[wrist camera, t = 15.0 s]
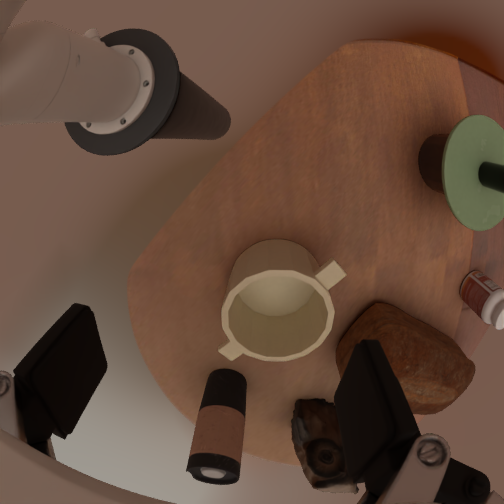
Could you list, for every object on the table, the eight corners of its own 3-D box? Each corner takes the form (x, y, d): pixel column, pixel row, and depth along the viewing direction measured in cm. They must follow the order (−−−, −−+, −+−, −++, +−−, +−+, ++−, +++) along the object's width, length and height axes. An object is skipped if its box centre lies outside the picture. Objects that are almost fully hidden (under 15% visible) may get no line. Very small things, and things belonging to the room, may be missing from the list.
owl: (293, 395, 49) (299, 487, 30) (356, 391, 48) (378, 476, 29) (288, 428, 53) (291, 505, 35) (343, 424, 53) (357, 498, 34)
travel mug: (255, 377, 47) (250, 476, 28) (236, 398, 50) (225, 488, 31) (217, 361, 46) (196, 461, 27) (200, 384, 48) (178, 474, 30)
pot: (200, 290, 41) (184, 329, 32) (294, 205, 35) (303, 227, 27) (260, 340, 44) (258, 384, 35) (352, 270, 38) (373, 306, 30)
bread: (419, 385, 48) (438, 426, 36) (320, 350, 44) (332, 407, 33) (462, 338, 43) (490, 377, 31) (372, 285, 39) (403, 335, 28)
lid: (417, 158, 24) (455, 166, 17) (481, 94, 20) (518, 92, 13) (467, 249, 27) (499, 273, 21) (521, 184, 23) (554, 196, 17)
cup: (410, 142, 31) (447, 145, 23) (452, 128, 29) (492, 130, 21) (426, 199, 34) (462, 216, 25) (466, 181, 32) (503, 194, 24)
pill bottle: (462, 306, 40) (493, 340, 30) (455, 284, 38) (490, 318, 28) (485, 285, 38) (518, 316, 28) (479, 262, 37) (516, 292, 26)
